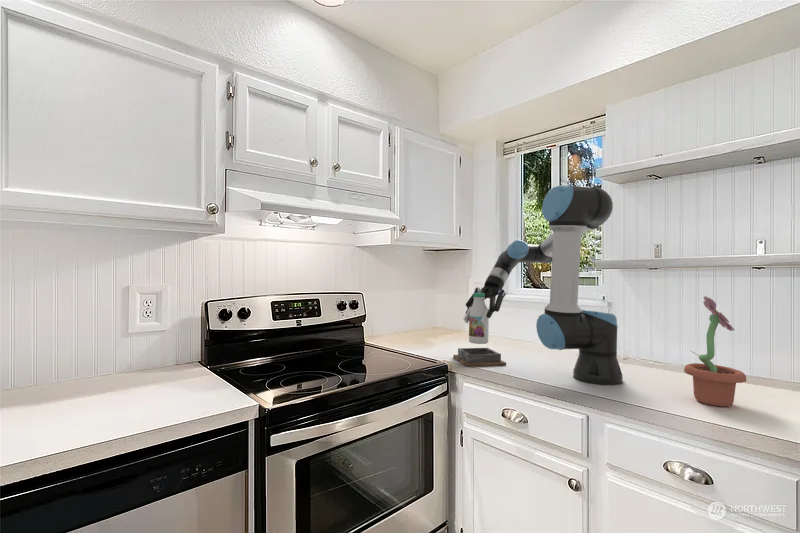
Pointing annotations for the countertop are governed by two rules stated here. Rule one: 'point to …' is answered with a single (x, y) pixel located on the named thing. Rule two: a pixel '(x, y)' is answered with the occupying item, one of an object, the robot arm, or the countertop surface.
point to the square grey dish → (478, 357)
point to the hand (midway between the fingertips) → (473, 322)
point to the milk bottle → (478, 320)
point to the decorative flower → (714, 368)
